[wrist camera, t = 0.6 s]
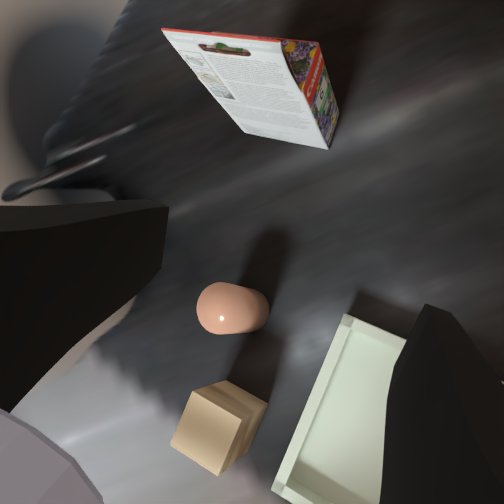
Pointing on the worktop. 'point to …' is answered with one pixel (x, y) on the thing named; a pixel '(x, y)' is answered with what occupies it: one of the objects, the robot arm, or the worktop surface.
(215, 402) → the beech block
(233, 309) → the terracotta cylinder
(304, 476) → the tray
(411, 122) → the worktop surface
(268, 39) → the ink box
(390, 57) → the worktop surface
